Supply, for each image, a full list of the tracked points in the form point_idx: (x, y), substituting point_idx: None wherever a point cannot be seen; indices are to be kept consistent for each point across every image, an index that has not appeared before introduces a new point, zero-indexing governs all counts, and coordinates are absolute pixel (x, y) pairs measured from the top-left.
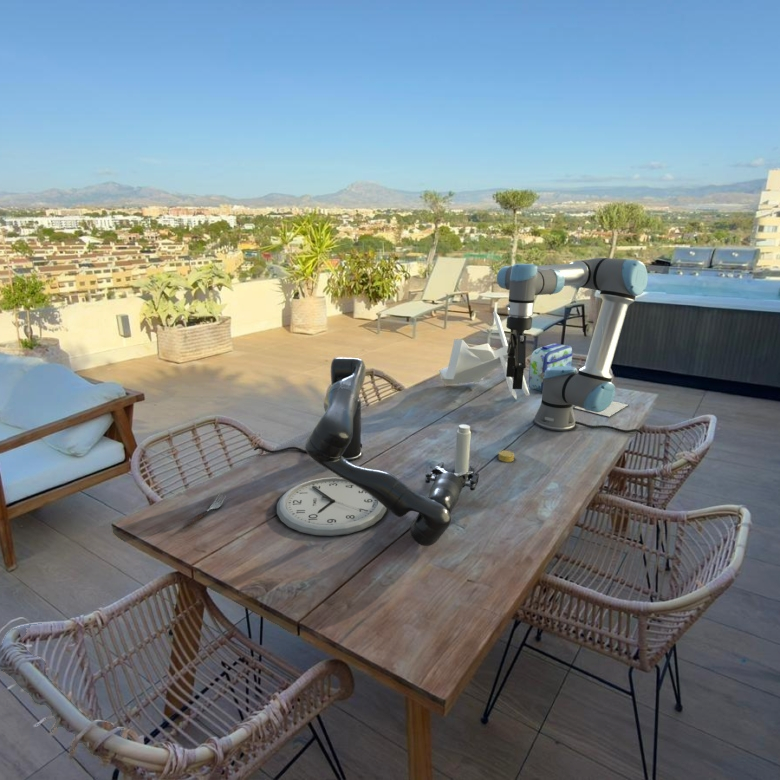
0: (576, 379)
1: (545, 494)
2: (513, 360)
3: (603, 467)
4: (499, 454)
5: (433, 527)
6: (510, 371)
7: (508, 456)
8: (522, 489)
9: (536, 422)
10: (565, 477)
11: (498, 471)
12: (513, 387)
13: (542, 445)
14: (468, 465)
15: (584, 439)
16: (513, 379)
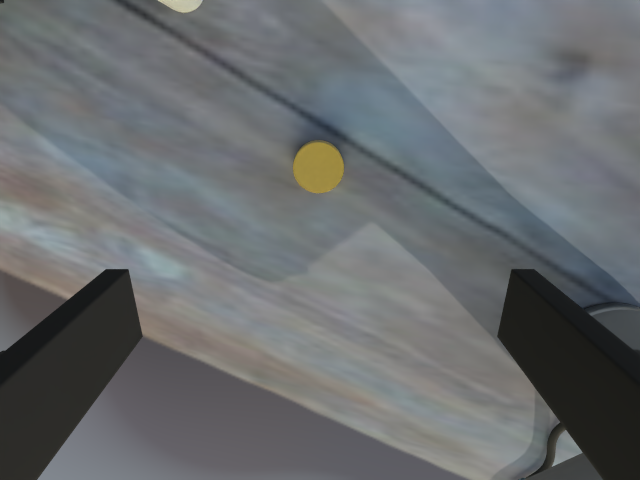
0: None
1: (106, 237)
2: (624, 463)
3: (294, 397)
4: (312, 143)
5: None
6: (535, 331)
7: (294, 171)
8: (116, 182)
9: (604, 308)
10: (219, 305)
11: (219, 126)
12: (99, 280)
13: (429, 290)
14: (165, 3)
15: (471, 400)
16: (58, 318)
